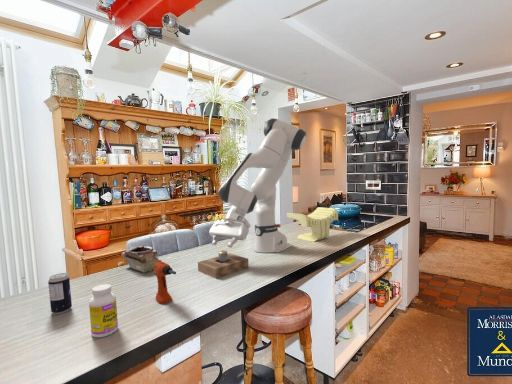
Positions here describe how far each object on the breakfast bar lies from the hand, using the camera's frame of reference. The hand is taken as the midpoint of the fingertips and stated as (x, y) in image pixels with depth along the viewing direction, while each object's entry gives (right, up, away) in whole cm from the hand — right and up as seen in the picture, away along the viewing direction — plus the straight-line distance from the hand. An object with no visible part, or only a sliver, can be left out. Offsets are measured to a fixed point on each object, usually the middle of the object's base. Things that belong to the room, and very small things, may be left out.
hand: (221, 245), depth 127 cm
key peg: (+1, -11, 0) cm, 11 cm away
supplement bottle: (-27, -15, -48) cm, 57 cm away
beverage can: (-49, -15, -34) cm, 61 cm away
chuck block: (+1, -11, 0) cm, 11 cm away
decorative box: (-41, -12, +6) cm, 43 cm away
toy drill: (-14, -14, -32) cm, 38 cm away
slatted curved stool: (+52, -5, +50) cm, 73 cm away
